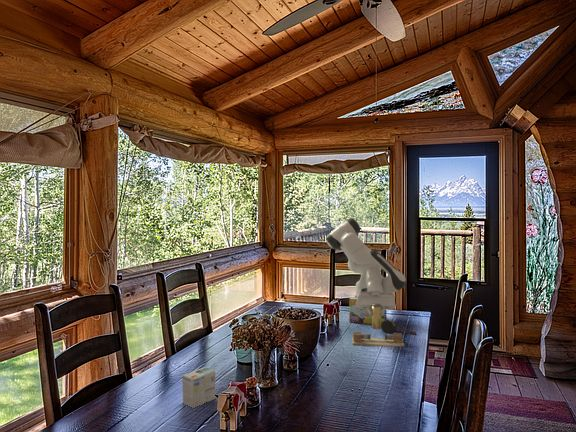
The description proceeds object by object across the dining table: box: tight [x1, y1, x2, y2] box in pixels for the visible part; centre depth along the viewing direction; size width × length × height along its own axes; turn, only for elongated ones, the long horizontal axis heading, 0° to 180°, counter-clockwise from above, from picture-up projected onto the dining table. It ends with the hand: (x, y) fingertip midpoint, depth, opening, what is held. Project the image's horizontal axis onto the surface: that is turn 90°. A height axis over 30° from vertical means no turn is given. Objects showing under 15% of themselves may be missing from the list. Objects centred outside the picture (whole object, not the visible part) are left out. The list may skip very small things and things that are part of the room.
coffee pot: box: [381, 319, 417, 336], centre depth 243 cm, size 8×18×8 cm
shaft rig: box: [351, 331, 405, 347], centre depth 226 cm, size 10×26×5 cm, turn 83°
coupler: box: [371, 304, 382, 330], centre depth 225 cm, size 5×5×12 cm
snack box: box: [348, 296, 386, 325], centre depth 265 cm, size 21×6×15 cm, turn 73°
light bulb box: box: [181, 366, 217, 409], centre depth 159 cm, size 11×7×11 cm, turn 141°
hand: (376, 315), depth 224 cm, fingers closed on coupler, 4 cm apart
